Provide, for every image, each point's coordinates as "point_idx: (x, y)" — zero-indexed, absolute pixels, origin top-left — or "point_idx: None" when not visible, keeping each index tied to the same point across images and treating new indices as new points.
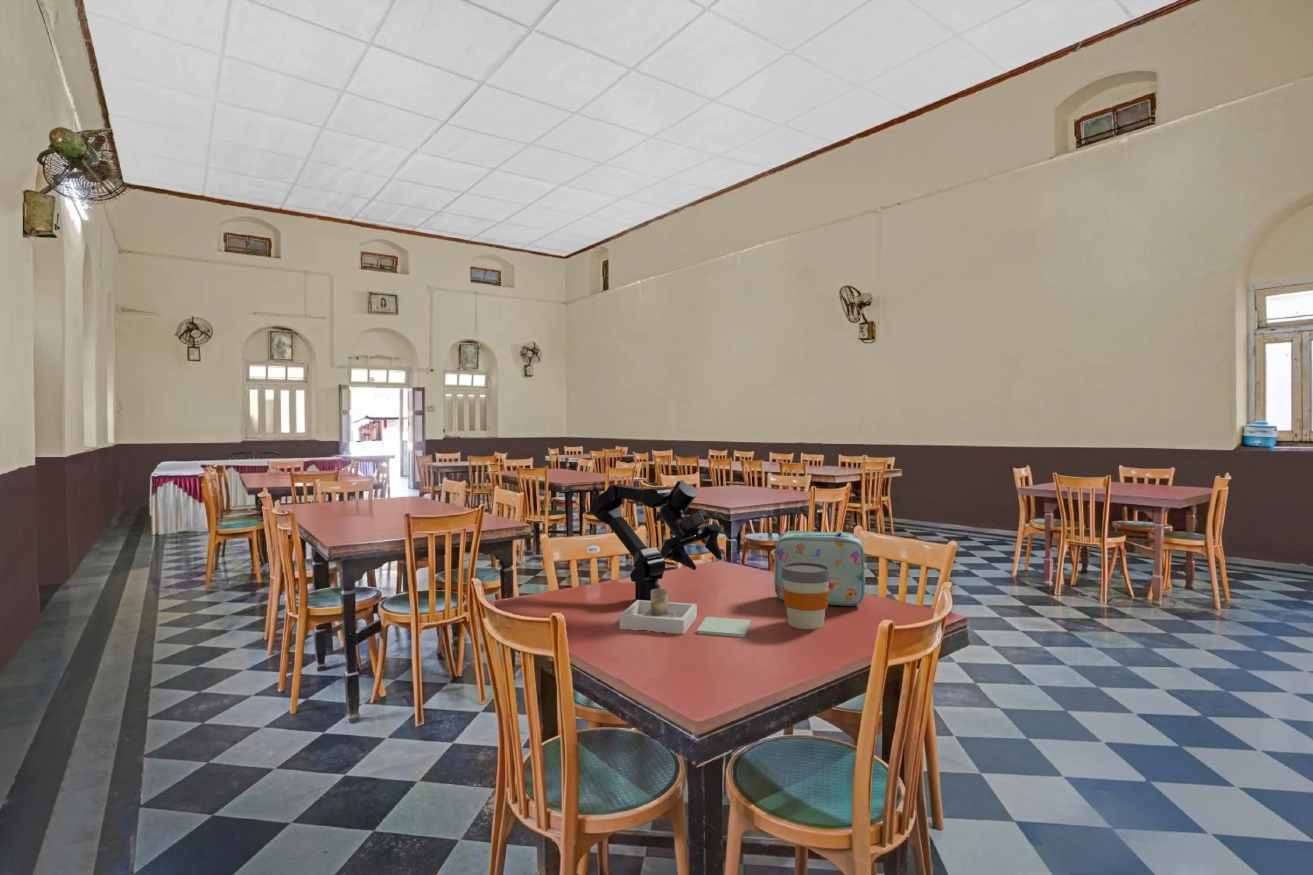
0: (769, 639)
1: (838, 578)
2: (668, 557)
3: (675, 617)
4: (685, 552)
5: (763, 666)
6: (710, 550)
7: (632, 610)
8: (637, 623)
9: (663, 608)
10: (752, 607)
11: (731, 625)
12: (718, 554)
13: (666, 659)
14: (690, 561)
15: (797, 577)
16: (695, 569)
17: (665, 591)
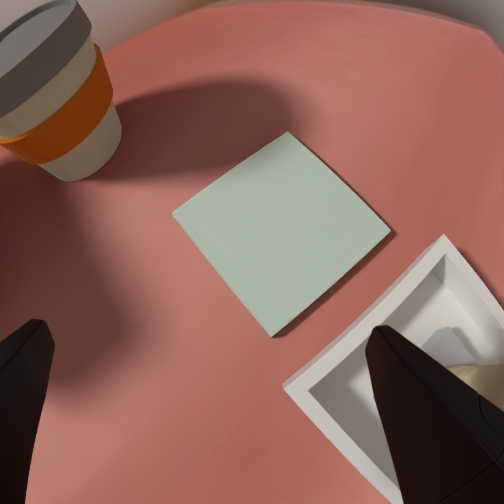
0: (242, 101)
1: None
2: None
3: (368, 401)
4: (499, 452)
5: (355, 39)
6: (18, 490)
7: None
8: None
9: (459, 366)
10: (54, 340)
11: (263, 205)
12: (28, 350)
13: (500, 148)
14: (438, 366)
15: (84, 14)
16: (370, 341)
17: (483, 379)
